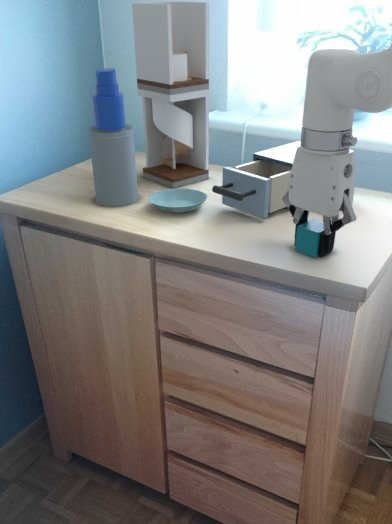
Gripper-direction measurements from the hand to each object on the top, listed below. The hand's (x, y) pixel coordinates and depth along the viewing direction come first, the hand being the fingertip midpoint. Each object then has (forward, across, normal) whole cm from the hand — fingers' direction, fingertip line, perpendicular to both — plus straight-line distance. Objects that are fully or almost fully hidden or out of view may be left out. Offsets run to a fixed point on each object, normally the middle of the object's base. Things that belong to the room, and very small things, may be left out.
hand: (313, 248), depth 96 cm
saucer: (+1, +32, +3) cm, 32 cm away
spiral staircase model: (+1, +48, -10) cm, 49 cm away
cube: (0, 0, 0) cm, 0 cm away
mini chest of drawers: (0, +20, -20) cm, 28 cm away
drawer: (-1, +20, -8) cm, 21 cm away
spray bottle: (+1, +45, +9) cm, 46 cm away
